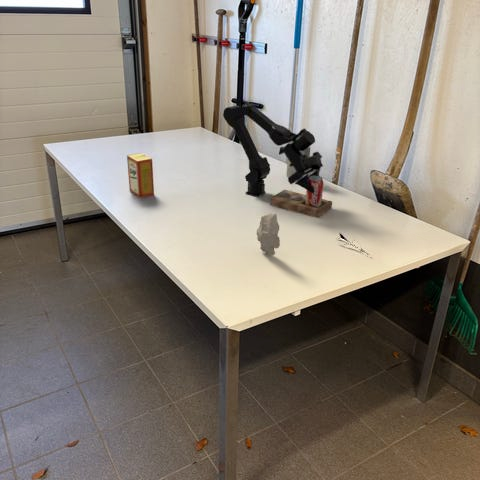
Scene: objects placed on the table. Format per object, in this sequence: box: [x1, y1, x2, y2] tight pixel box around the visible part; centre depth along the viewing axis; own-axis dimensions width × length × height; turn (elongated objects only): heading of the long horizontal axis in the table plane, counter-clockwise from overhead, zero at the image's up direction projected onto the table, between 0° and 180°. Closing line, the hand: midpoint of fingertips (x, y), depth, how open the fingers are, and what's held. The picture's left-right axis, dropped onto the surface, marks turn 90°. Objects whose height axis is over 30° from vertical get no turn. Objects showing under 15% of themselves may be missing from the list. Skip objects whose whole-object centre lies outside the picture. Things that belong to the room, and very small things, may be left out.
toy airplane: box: [338, 232, 370, 255], centre depth 165 cm, size 8×21×2 cm, turn 29°
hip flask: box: [285, 141, 311, 184], centre depth 220 cm, size 16×4×20 cm, turn 24°
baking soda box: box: [126, 153, 155, 198], centre depth 201 cm, size 10×6×16 cm
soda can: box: [305, 175, 324, 208], centre depth 190 cm, size 6×6×12 cm
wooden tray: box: [269, 189, 333, 219], centre depth 195 cm, size 22×12×3 cm, turn 57°
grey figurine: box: [256, 212, 281, 256], centre depth 155 cm, size 11×4×15 cm, turn 38°
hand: (317, 190), depth 188 cm, fingers closed on soda can, 6 cm apart
